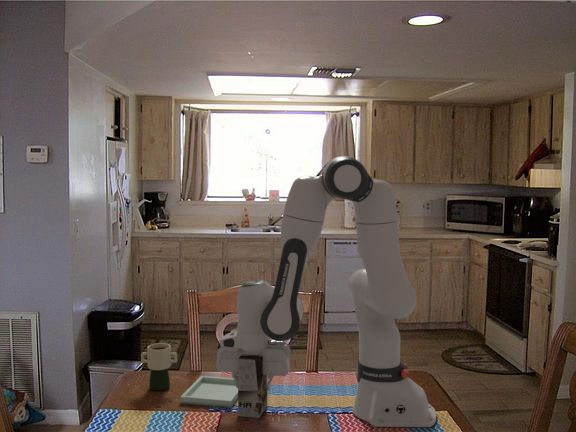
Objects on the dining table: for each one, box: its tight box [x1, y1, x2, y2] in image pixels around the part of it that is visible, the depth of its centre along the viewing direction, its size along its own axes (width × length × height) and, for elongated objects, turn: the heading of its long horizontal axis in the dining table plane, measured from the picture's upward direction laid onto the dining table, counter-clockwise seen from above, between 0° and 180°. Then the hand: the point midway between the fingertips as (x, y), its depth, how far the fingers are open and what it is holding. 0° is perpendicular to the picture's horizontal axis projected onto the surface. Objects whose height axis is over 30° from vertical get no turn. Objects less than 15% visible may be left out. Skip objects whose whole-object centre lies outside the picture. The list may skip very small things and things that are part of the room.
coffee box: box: [237, 355, 268, 419], centre depth 161 cm, size 9×6×16 cm
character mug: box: [140, 342, 178, 391], centre depth 177 cm, size 11×7×13 cm, turn 91°
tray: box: [179, 375, 238, 409], centre depth 173 cm, size 15×17×2 cm
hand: (253, 388), depth 161 cm, fingers closed on coffee box, 6 cm apart
